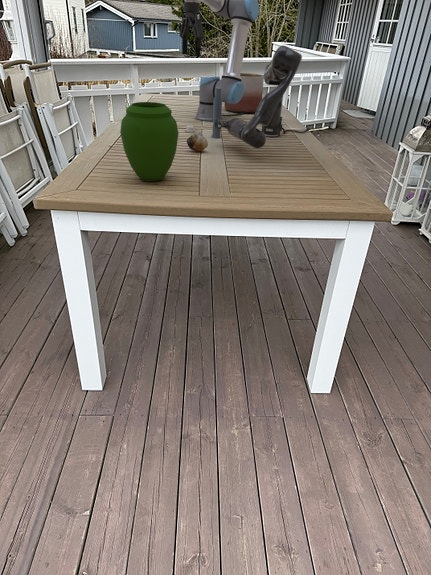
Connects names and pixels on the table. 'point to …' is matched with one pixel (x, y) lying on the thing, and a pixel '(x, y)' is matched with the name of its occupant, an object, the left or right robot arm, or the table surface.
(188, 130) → the cap
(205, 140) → the seashell
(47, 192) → the table surface
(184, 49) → the left robot arm
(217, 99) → the bottle
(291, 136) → the table surface
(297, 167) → the table surface
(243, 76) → the planter
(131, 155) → the vase
